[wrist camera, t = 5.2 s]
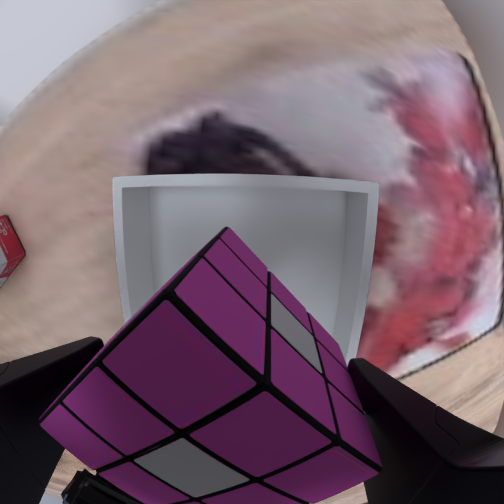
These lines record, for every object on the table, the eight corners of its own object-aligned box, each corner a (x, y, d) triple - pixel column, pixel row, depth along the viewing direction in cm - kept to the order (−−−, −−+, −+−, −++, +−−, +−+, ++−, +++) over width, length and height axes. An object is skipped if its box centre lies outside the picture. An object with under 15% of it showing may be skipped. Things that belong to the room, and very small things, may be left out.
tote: (323, 411, 23) (330, 448, 18) (164, 400, 24) (149, 434, 19) (355, 181, 18) (379, 182, 14) (144, 176, 19) (112, 177, 15)
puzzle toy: (226, 418, 11) (204, 533, 5) (121, 327, 10) (35, 422, 5) (339, 344, 10) (385, 472, 4) (227, 223, 9) (165, 287, 4)
